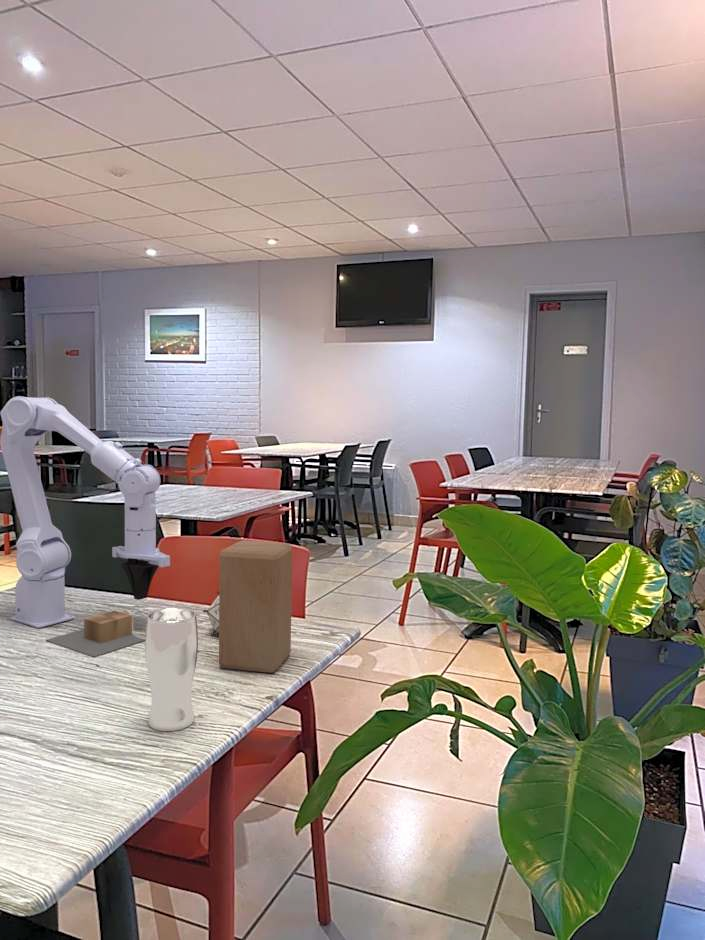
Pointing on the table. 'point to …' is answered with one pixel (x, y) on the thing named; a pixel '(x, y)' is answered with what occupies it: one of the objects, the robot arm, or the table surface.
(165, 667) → the beer glass
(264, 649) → the block
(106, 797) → the table surface
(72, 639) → the mat
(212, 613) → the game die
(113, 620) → the walnut block
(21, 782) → the table surface
